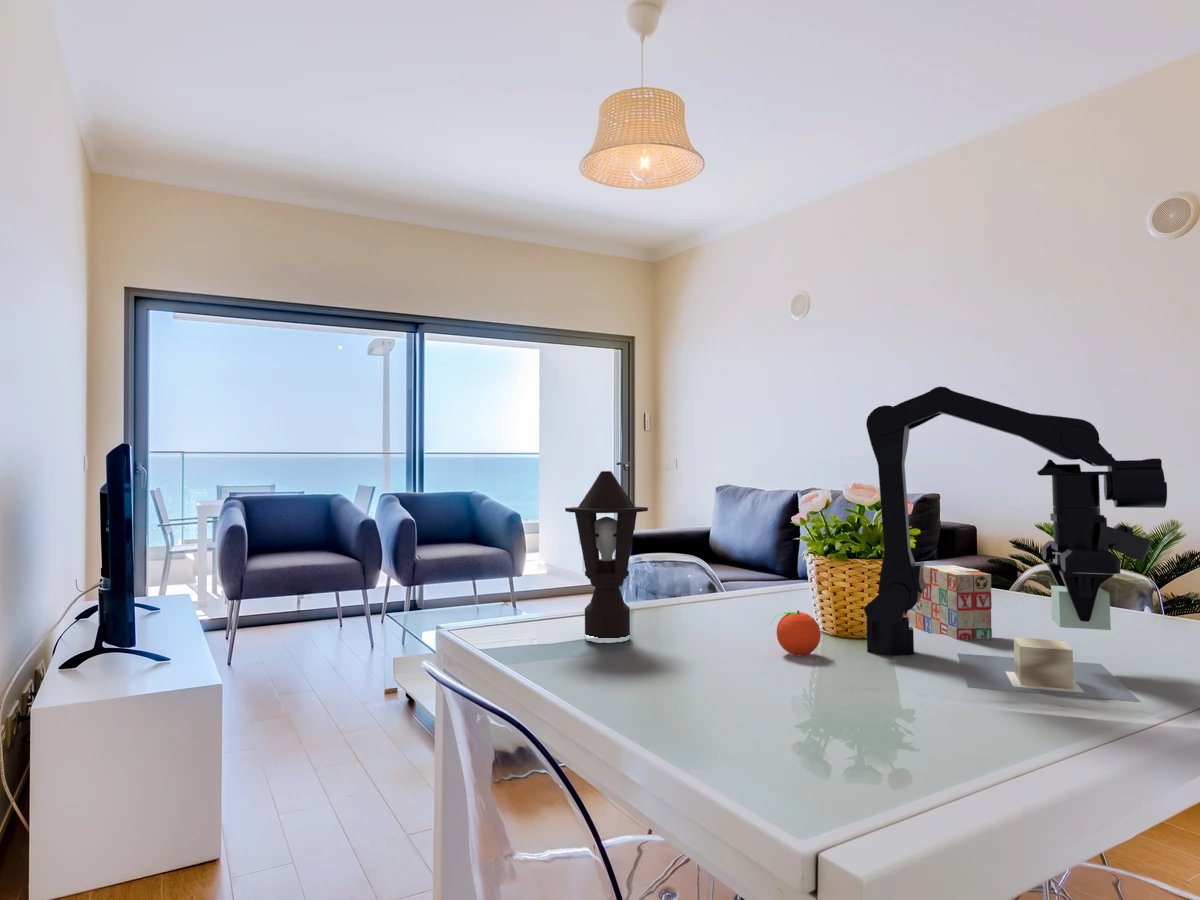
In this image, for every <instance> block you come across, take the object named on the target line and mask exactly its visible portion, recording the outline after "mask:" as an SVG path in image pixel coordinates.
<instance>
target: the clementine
mask: <svg viewBox="0 0 1200 900" xmlns="http://www.w3.org/2000/svg"><path fill="white" fill-rule="evenodd" d="M781 615H784V616H783V617H781V619H780V620H779V621H778V623H777V625H776V638H777V642H778V643H779V645H780V647H781V648H782V649H783V650H784V651H786V652H787V654H791V655H793V656H798V657H801V656H806V655H809V654H811V653H812V652H814V651H815V650H816V649H817V647H818V646H819V644H820V642H821V638H822V637H821V636H822V635H821V628H820V626H819V624H818V622H817V621H816V620H815V618H814V617H813V616H811V615H810V614H808V613H806V612H802V611H800V610H797V611H786V612H782V613H780V614H777V615H776V616H775V617H773V619H772V620H771V622H770V624H769V626H771V624H772V622H773V620H774V619H776V618H778V617H779V616H781Z"/></svg>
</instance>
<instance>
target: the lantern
mask: <svg viewBox="0 0 1200 900" xmlns="http://www.w3.org/2000/svg"><path fill="white" fill-rule="evenodd" d="M564 510H565V511H564V512H567V513H574V515H575V519H576V526H577V531H578V532H577V533H578V536H579V537H578V538H579V543H580V547H581V551H582V557H583V563H584V568H585V571H584V576H585V577H587V579H588V580H589V581H590V585H591V586H592V587H594V590H593V593H592V595H591V599H590V602H589V603H588V604H587V605H586V606H585V608H584V635H585V634H586V635H589V636H594V637H598V638H620V637H626V636H628V635H630V636H631V623H630V622H631V615H630V613H631V612H630V611H631V609H630V607H629V605H627V604H626V602H625V601H624V597H623V595H622V592H621V588H620V587H623V584H624V580H626V579H627V577H629V574H630V571H629V561H630V557H631V551H632V550H631V549H632V543H633V538H634V531H635V527H636V521H637V520H636V519H637V515H638V513H642V512H648V511H649V507H646V506H635V505H634V504H633V502H632V501H631V499H630V497H629V496H628V494H627V493H626V492H625V490H624V489H623V487H622V486H621V485H620V483H619V481H618V479H617V478H616V477H615V475H614V473H613V472H612V471H611V470H609V471H608V470H603V471H602V470H600V472H599V474H598V475H597V478H595V480H594V482H593V484H592V485H591V487H590V488H589V491H587V493H586V495H585V496H584V497H583V499H582V501H581V502H580V503H579V505H578V506H574V507H573V506H572V507H565V508H564ZM597 514H616V518H617V519H615V518H613V517H609V516H604V517H600V518H598V519H597ZM614 554H615V555H614ZM613 555H614V558H613ZM600 557H601V558H600Z"/></svg>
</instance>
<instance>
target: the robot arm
mask: <svg viewBox="0 0 1200 900" xmlns="http://www.w3.org/2000/svg"><path fill="white" fill-rule="evenodd" d="M941 415H946V416H950V417H953V418H957V419H960V420H963V421H965V422H966V421H967V422H969V423H973V424H976V425H980V426H983V427H985V428H989V429H993V430H995V431H999V432H1002V433H1006V434H1008V435H1013V436H1015V437H1019V438H1021V439H1024V440H1025V441H1027V442H1030V443H1031V444H1033V445H1036V446H1037V447H1039V448H1041V449H1043V450H1045V451H1047V452H1050V453H1051V454H1053V455H1055V456H1058V457H1059V458H1061V459H1064V460H1069V461H1078V460H1081V461H1082V462H1084V463H1086V464H1088V465H1090V466H1092V467H1107V471H1105V470H1104V471H1099V470H1098V471H1097V470H1096V471H1082V469H1081V465H1080V464H1079V463H1068V464H1067V463H1065V464H1063V463H1061V464H1060V463H1059V464H1057V463H1055V462H1054V460H1053V459H1047V461H1046V462H1045V464H1044V465H1043V467H1041V468H1040V469H1039V470H1037V472H1036V474H1037V475H1038V476H1043V477H1044V476H1045V477H1046V476H1051V479H1052V480H1051V484H1052V485H1051V486H1052V488H1051V491H1052V513H1050V514H1049V515H1050V516H1049V517H1050V521H1052V522H1053V540H1048V541H1047V542H1046V543H1044V544H1043V545H1042V548H1041V549H1042V550H1041V551H1042V559H1043V560H1045V561H1051V560H1052V562H1046V566H1047V567H1048V569H1049V572H1050V573H1051V576H1052V577H1053V580H1054V581H1055V584H1056V586H1066V589H1067V591H1068V594H1069V596H1070V598H1071V601H1072V603H1073V605H1074V608H1075V610H1076V612H1077V615H1078V617H1079V619H1080V620H1081V621H1086V622H1088V621H1090V618H1091V615H1092V611H1093V607H1094V603H1095V600H1096V596H1097V592H1098V589H1099V588H1100V586H1101V585H1103V583H1105V582H1106V581H1108V580H1109V579H1111V578H1113V577H1114V576H1115V575H1121V560H1120V558H1119V557H1118V556H1116V554H1114V553H1113V552H1112V551H1114V552H1118V553H1121V554H1122V555H1124V556H1126V557H1129V558H1133V559H1134V560H1138V561H1141V562H1145V560H1146V557H1147V555H1148V552H1149V551H1150V548H1151V545H1152V542H1153V540H1152V539H1149V538H1146V537H1143V536H1140V535H1136V534H1134V529H1133V527H1131V526H1127V525H1125V524H1122V523H1117V524H1116V525H1114V526H1113V527H1110V526H1108V520H1107V517H1106V516H1105V515H1103V514H1101V496H1100V495H1101V494H1100V476H1103V492H1104V493H1103V494H1104V499H1105V501H1112V502H1113V505H1114V508H1130V509H1131V508H1133V509H1135V508H1136V509H1137V508H1138V509H1139V508H1140V509H1143V508H1144V509H1145V508H1146V509H1148V508H1149V509H1150V508H1151V509H1159V508H1160V509H1165V508H1166V506H1167V501H1168V482H1167V481H1166V479H1165V473H1164V469H1163V465H1162V464H1163V463H1162V461H1163V460H1162V459H1161V458H1160V457H1159V458H1157V457H1156V458H1145V459H1142V460H1141V459H1138V460H1137V459H1135V460H1134V459H1133V460H1129V459H1128V460H1127V459H1125V460H1116V459H1115V458H1114V457H1113V454H1112V453H1109V451H1107V450H1106V448H1105V447H1104V446H1103V445H1102V444H1101V443H1100V433H1099V431H1098V430H1097V427H1095V425H1094V424H1093V423H1091V422H1090V421H1087V420H1085V419H1081V418H1075V417H1067V416H1065V417H1064V416H1059V415H1051V414H1050V415H1049V414H1038V413H1032V412H1031V413H1030V412H1027V411H1024V410H1020V409H1016V408H1013V407H1010V406H1005V405H1003V404H999V403H996V402H992V401H989V400H986V399H981V398H978V397H975V396H971V395H969V394H965V393H961V392H958V391H954V390H952V389H950V388H948V387H947V386H935V387H933V388H932V389H930V390H929V391H927V392H924V393H922V394H921V395H917V396H915V397H912V398H910V399H907V400H904V401H902V402H900V403H898V404H895V405H886V404H885V405H880V406H877V407H876V408H874V409H873V410H871V412H870V413H869V414H868V416H867V418H866V423H865V424H866V426H865V427H866V429H867V433H868V437H869V442H870V444H871V448H872V450H873V454H874V457H875V460H876V463H877V467H878V481H879V482H878V483H879V485H878V486H879V496H880V511H881V525H882V538H883V556H882V562H881V568H880V573H879V582H878V592H877V596H874V598H873V599H872V600H870V602H868V604H867V605H865V606H864V608H863V611H864V613H865V617H866V652H867V653H871V654H877V655H880V656H881V655H882V656H888V657H890V656H892V657H895V656H896V657H897V656H898V657H901V656H915V646H914V645H915V643H914V642H915V641H914V638H915V637H914V636H915V635H914V627H913V626H910V625H909V617H904V616H905V615H906V614H907V611H908V610H910V609H912V608H913V607H914V606H915V605H916V603H917V602H918V600H919V599H920V597H921V595H922V592H923V591H924V590H925V588H926V587H927V586H926V584H925V582H924V578H923V572H924V566H925V561H920V562H916V561H915V558H914V556H913V553H912V548H911V537H910V535H911V534H910V523H909V508H908V496H907V495H908V493H907V483H906V482H907V481H906V478H907V477H906V467H905V463H906V462H905V461H906V459H907V458H906V456H907V452H908V447H909V439H910V430H913V429H915V428H917V427H920V426H921V425H924V424H925V423H927V422H929V421H931V420H933V419H935V418H937V417H939V416H941ZM1110 550H1111V551H1110Z"/></svg>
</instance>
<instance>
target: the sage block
mask: <svg viewBox="0 0 1200 900" xmlns="http://www.w3.org/2000/svg"><path fill="white" fill-rule="evenodd" d="M1050 590H1051V591H1050V594H1051V620H1052V621H1053V622H1054V623H1055V625H1057V626H1058V628H1065V629H1067V628H1068V629H1084V630H1085V629H1087V630H1101V631H1111V630H1112V627H1111V601H1110V600H1111V599H1110V597H1111V596H1110V595H1111V594H1110V593H1109V592H1108V591H1106V590H1104V589H1102V588H1101V587H1099V589H1098V592H1097V596H1096V600H1095V603H1094V607H1093V611H1092V615H1091V618H1090V621H1088V622H1086V621H1081V620H1080V619H1079V617H1078V615H1077V612H1076V610H1075V608H1074V605H1073V603H1072V601H1071V598H1070V596H1069V594H1068V591H1067V589H1066V586H1057V585H1050Z"/></svg>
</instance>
